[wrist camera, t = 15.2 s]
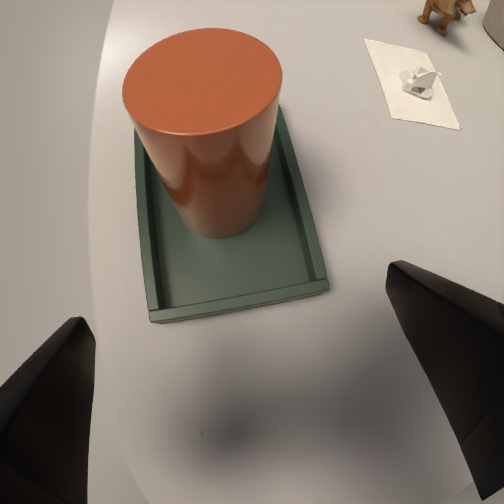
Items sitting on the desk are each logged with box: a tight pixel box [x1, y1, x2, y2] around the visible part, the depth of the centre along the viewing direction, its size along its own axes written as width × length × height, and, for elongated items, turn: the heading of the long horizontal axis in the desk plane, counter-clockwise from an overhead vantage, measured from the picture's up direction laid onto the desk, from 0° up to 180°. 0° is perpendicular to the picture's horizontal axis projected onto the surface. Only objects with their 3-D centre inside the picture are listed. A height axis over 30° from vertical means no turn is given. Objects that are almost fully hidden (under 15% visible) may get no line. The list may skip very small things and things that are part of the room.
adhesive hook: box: [398, 65, 442, 99], centre depth 21 cm, size 3×3×3 cm
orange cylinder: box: [122, 28, 282, 238], centre depth 14 cm, size 5×5×10 cm
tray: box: [134, 105, 330, 324], centre depth 18 cm, size 13×9×2 cm
